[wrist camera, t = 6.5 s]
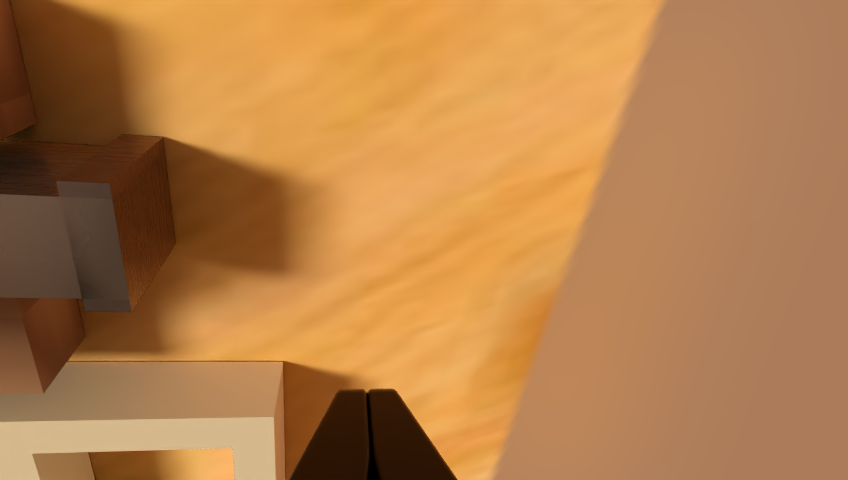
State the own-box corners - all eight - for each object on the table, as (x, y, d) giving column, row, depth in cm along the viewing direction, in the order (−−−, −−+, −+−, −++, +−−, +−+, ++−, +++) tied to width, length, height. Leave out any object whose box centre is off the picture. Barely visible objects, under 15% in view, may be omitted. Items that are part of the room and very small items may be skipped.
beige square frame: (285, 515, 21) (278, 578, 19) (70, 526, 20) (36, 595, 18) (283, 361, 18) (273, 416, 15) (21, 362, 16) (-30, 422, 14)
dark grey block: (175, 243, 15) (131, 312, 12) (-16, 237, 14) (-116, 309, 11) (162, 137, 14) (109, 183, 11) (-51, 123, 13) (-175, 169, 10)
